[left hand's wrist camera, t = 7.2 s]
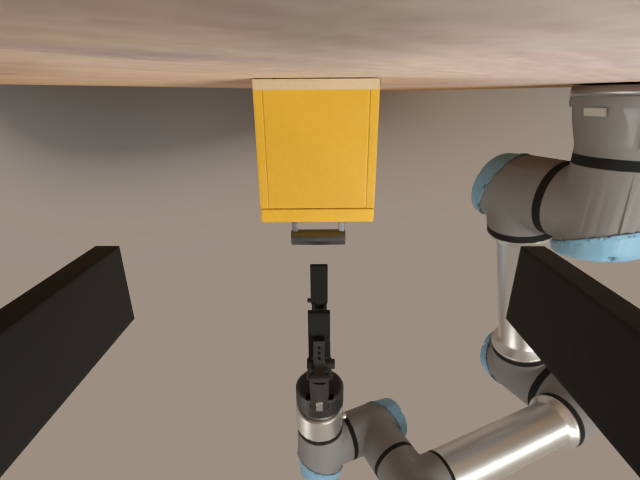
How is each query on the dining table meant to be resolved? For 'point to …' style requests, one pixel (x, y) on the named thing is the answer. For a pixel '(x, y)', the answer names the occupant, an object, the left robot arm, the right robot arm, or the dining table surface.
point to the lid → (317, 216)
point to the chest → (316, 142)
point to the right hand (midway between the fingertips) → (318, 285)
